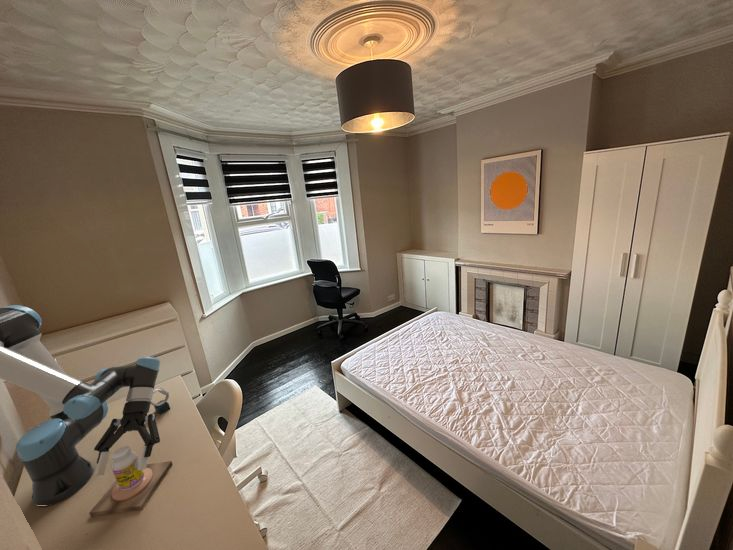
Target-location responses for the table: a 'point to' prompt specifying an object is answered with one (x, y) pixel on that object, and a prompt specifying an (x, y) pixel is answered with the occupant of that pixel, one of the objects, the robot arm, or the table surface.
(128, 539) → the table surface
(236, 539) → the table surface
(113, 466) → the supplement bottle
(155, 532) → the table surface
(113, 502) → the square brown tray
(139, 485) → the pink dome
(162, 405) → the watch
